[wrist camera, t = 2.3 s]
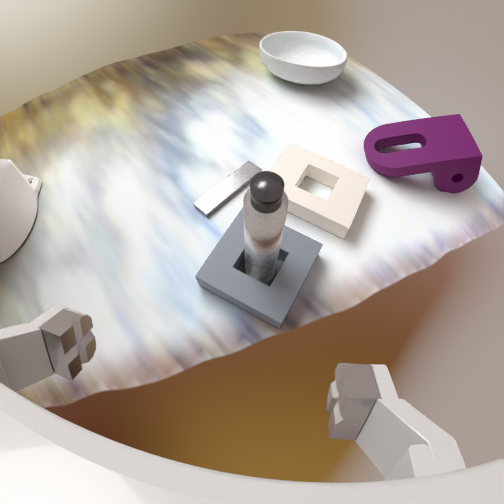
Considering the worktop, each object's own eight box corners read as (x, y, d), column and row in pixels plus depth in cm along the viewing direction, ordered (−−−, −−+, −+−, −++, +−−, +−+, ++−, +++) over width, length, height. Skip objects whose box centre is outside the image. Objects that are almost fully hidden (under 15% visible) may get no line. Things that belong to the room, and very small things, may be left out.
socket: (198, 284, 34) (195, 276, 31) (244, 217, 38) (243, 206, 35) (278, 328, 32) (281, 323, 29) (318, 254, 36) (322, 244, 33)
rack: (257, 198, 39) (258, 185, 37) (287, 155, 43) (289, 143, 40) (343, 239, 36) (349, 228, 34) (364, 190, 40) (370, 178, 38)
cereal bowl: (244, 65, 55) (243, 36, 49) (308, 53, 59) (311, 27, 52) (289, 104, 48) (293, 71, 42) (357, 89, 52) (365, 60, 46)
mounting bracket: (375, 205, 46) (474, 190, 39) (369, 172, 40) (482, 156, 32) (366, 162, 50) (457, 149, 43) (358, 128, 44) (459, 114, 36)
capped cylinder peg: (239, 274, 34) (234, 190, 21) (254, 250, 36) (257, 160, 22) (266, 288, 34) (278, 211, 20) (280, 264, 35) (299, 177, 22)
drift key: (207, 219, 38) (206, 214, 37) (195, 208, 39) (193, 203, 38) (261, 175, 41) (261, 169, 40) (248, 166, 42) (248, 160, 41)
